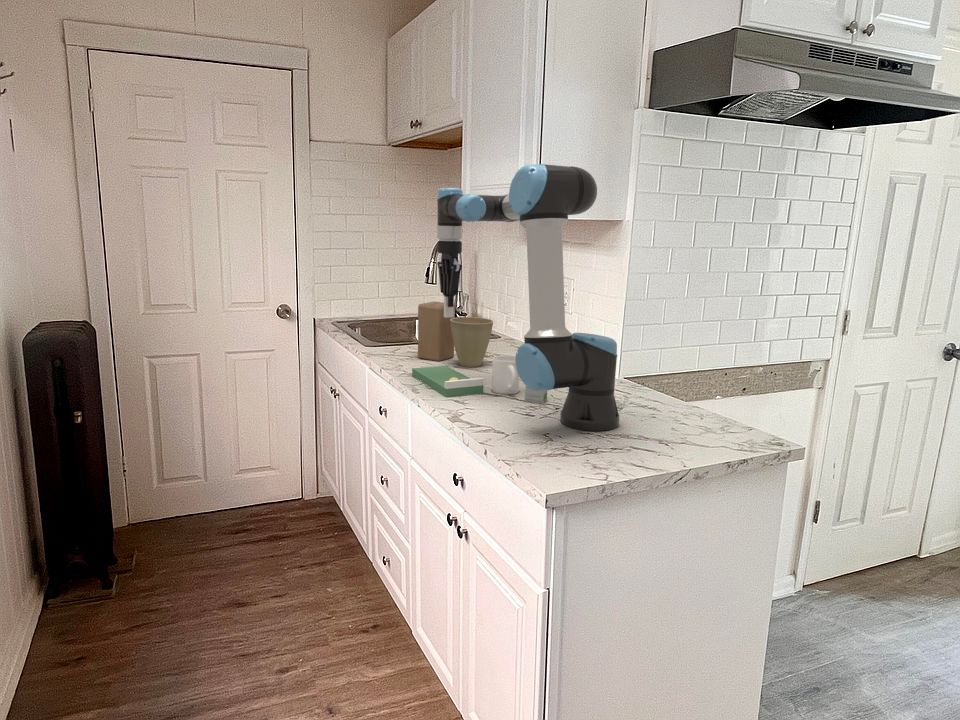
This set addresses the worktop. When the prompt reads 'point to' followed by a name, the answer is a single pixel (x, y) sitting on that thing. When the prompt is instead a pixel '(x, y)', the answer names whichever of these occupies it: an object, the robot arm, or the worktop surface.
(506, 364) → the mug
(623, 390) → the worktop surface
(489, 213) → the robot arm
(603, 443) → the worktop surface
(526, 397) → the small box
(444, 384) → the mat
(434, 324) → the wooden block
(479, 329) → the plant pot
